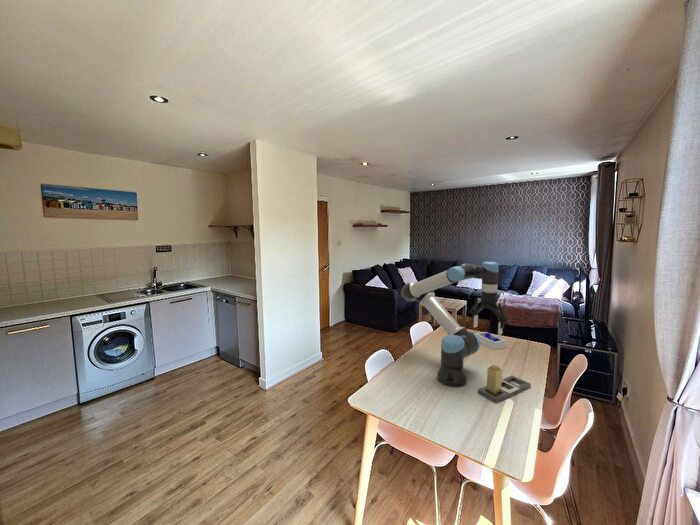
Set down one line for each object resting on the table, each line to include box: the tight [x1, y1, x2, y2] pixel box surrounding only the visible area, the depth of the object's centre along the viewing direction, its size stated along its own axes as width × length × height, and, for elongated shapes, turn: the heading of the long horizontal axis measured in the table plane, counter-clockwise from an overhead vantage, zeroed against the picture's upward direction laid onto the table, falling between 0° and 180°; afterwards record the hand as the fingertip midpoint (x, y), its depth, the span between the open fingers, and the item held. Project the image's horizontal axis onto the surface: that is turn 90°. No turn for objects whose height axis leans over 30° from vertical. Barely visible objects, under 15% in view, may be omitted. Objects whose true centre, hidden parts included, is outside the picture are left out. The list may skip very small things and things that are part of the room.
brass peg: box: [486, 364, 503, 396], centre depth 143 cm, size 5×5×15 cm
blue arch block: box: [485, 332, 499, 342], centre depth 208 cm, size 12×4×6 cm, turn 5°
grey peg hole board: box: [477, 375, 532, 404], centre depth 148 cm, size 28×10×2 cm, turn 119°
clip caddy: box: [475, 331, 507, 350], centre depth 208 cm, size 10×18×5 cm, turn 19°
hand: (487, 330), depth 155 cm, fingers open, 13 cm apart
